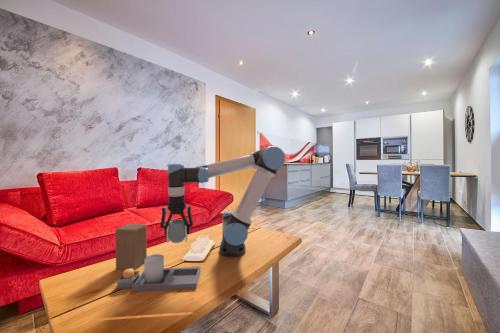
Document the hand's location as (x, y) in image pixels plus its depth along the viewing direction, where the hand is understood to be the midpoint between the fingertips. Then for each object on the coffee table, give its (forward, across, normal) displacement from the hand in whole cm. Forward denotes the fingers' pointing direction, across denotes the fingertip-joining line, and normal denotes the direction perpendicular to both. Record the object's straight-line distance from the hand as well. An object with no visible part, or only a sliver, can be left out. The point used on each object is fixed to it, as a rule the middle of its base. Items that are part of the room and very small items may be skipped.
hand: (177, 240), depth 105 cm
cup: (+1, 0, 0) cm, 1 cm away
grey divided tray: (+13, +1, +14) cm, 19 cm away
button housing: (+12, +17, +15) cm, 26 cm away
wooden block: (+13, +23, -2) cm, 26 cm away
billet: (+12, +7, +14) cm, 19 cm away
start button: (+10, +17, +15) cm, 24 cm away
